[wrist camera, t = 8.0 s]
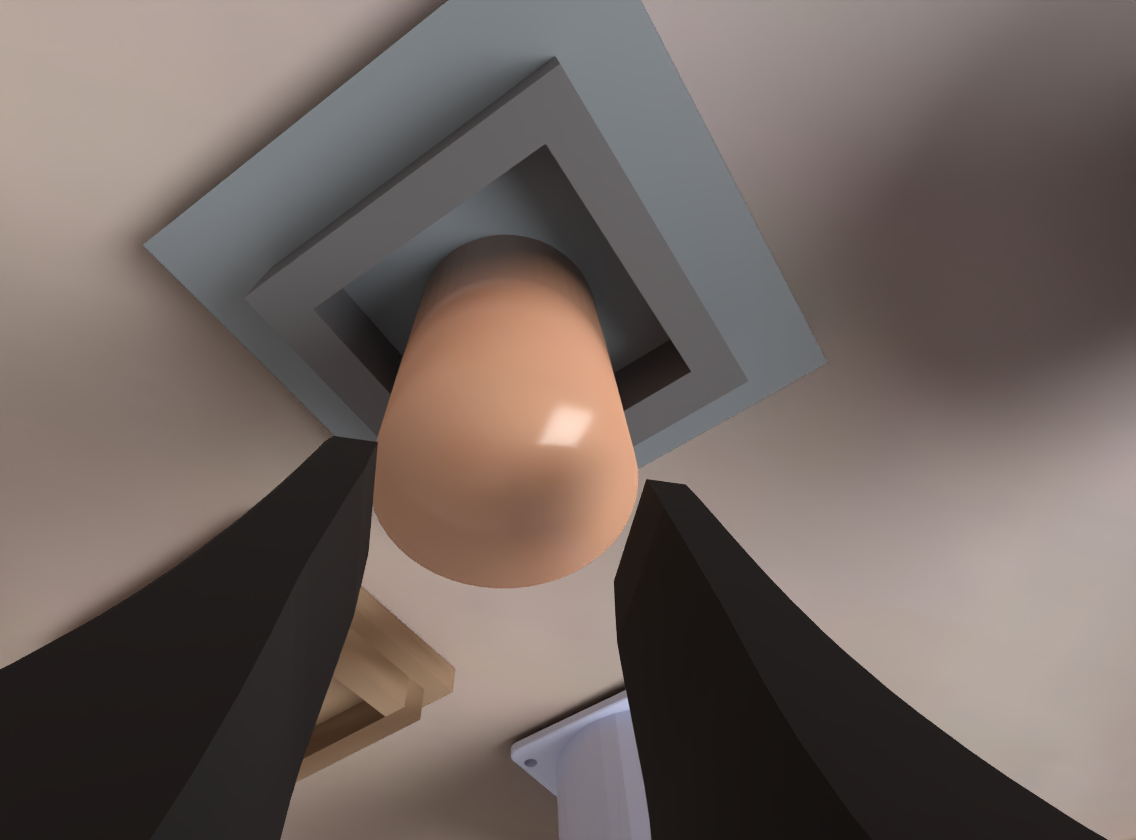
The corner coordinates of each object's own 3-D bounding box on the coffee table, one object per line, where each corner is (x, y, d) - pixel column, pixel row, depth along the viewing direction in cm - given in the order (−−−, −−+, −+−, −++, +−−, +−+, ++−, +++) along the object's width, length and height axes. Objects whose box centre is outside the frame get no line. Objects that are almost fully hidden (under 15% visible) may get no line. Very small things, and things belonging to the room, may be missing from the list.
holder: (455, 668, 26) (449, 721, 24) (271, 764, 28) (253, 819, 26) (271, 507, 22) (247, 556, 20) (72, 633, 24) (34, 688, 22)
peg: (608, 243, 17) (659, 381, 11) (584, 405, 19) (617, 593, 13) (419, 225, 16) (365, 358, 10) (418, 393, 19) (371, 583, 13)
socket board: (812, 343, 20) (859, 399, 17) (467, 540, 23) (460, 614, 20) (579, -102, 14) (594, -125, 12) (165, 230, 17) (97, 273, 15)
